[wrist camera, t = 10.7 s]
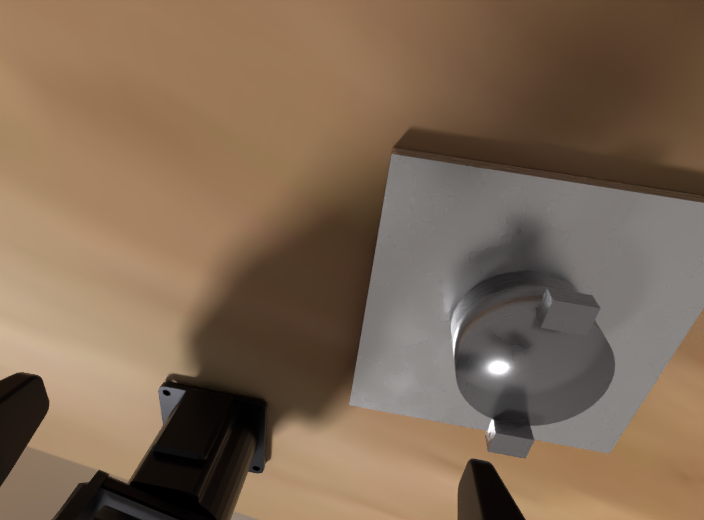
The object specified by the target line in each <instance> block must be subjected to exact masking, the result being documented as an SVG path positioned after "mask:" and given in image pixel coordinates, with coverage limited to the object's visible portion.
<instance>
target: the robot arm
mask: <svg viewBox="0 0 704 520" xmlns="http://www.w3.org/2000/svg"><path fill="white" fill-rule="evenodd" d="M158 392H159V399H160V406H161V413H162V420H163V426H162V428H161V430H160V431H159V433H158V435H157V436H156V438H155V439H154V441H153V443H152V444H151V446H150V448H149V449H148V451H147V452H146V454H145V456H144V457H143V459H142V461H141V462H140V464H139V465H138V467H137V469H136V470H135V472H134V474H133V475H132V477H131V478H130V480H129V482H128V483H124V482H122V481H120V480H117V479H115V478H112V477H110V476H109V474H108V473H106V472H104V471H101V470H98V472H97V473H96V474H95V475H94V477H93V478H92V479H91V481H90V482H88V483H79V484H78V485H77V487H76V488H75V490H74V491H73V492H72V494H71V495H70V497H69V498H68V499H67V501H66V502H65V504H64V505H63V506H62V508H61V509H60V511H59V512H58V513H57V514H56V515H55V516H54V518H53V519H52V520H230V519H231V517H232V514H233V511H234V509H235V506H236V503H237V500H238V498H239V495H240V492H241V490H242V487H243V484H244V481H245V479H246V476H247V473H248V472H253V473H262V472H263V470H264V467H265V464H266V436H267V407H268V406H267V403H266V402H265V401H263V400H261V399H258V398H252V397H247V396H242V395H236V394H231V393H226V392H220V391H215V390H210V389H204V388H199V387H194V386H188V385H183V384H178V383H172V382H164V383H163V384H162V385H161V387H160V388H159V391H158ZM48 409H49V399H48V396H47V392H46V389H45V386H44V383H43V380H42V378H41V377H40V376H38V375H35V374H29V373H24V372H20V373H16V374H13V375H11V376H9V377H7V378H4V379H2V380H0V486H1V485H2V484H3V482H4V480H5V479H6V477H7V476H8V475H9V473H10V471H11V470H12V468H13V467H14V465H15V463H16V462H17V460H18V459H19V457H20V455H21V454H22V452H23V451H24V449H25V447H26V446H27V444H28V443H29V441H30V439H31V438H32V436H33V435H34V433H35V431H36V430H37V428H38V427H39V425H40V423H41V422H42V420H43V419H44V417H45V415H46V414H47V411H48ZM458 520H525V518H524V516H523V515H522V513H521V511H520V510H519V508H518V506H517V505H516V503H515V501H514V500H513V498H512V496H511V495H510V493H509V491H508V490H507V488H506V486H505V485H504V483H503V481H502V480H501V478H500V476H499V475H498V473H497V471H496V470H495V468H494V467H493V465H492V464H491V463H490V462H488V461H483V460H478V459H470V460H469V461H468V463H467V465H466V468H465V470H464V472H463V475H462V477H461V480H460V482H459V487H458Z"/></svg>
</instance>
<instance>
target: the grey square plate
mask: <svg viewBox="0 0 704 520" xmlns="http://www.w3.org/2000/svg"><path fill="white" fill-rule="evenodd" d="M703 308H704V196H703V195H696V194H690V193H683V192H677V191H671V190H664V189H658V188H651V187H645V186H639V185H632V184H626V183H619V182H613V181H607V180H600V179H594V178H587V177H581V176H574V175H568V174H562V173H555V172H549V171H542V170H536V169H530V168H523V167H517V166H510V165H504V164H498V163H491V162H485V161H478V160H472V159H466V158H459V157H453V156H446V155H440V154H434V153H427V152H421V151H414V150H408V149H401V148H395V147H393V149H392V155H391V161H390V167H389V173H388V179H387V184H386V190H385V196H384V202H383V208H382V214H381V220H380V226H379V232H378V238H377V244H376V249H375V255H374V261H373V267H372V273H371V279H370V285H369V291H368V297H367V303H366V309H365V314H364V320H363V326H362V332H361V338H360V344H359V350H358V356H357V362H356V368H355V374H354V379H353V385H352V391H351V397H350V403H349V405H351V406H357V407H362V408H367V409H373V410H378V411H383V412H389V413H394V414H399V415H405V416H410V417H416V418H421V419H426V420H432V421H437V422H442V423H448V424H453V425H459V426H464V427H469V428H475V429H480V430H485V431H487V433H486V435H485V437H486V444H487V450H488V452H493V453H499V454H504V455H509V456H514V457H520V458H526V456H527V454H528V452H529V450H530V448H531V446H532V444H533V442H534V440H539V441H544V442H550V443H555V444H560V445H566V446H571V447H577V448H582V449H587V450H593V451H598V452H603V453H610V452H611V450H612V449H613V447H614V446H615V444H616V442H617V441H618V439H619V438H620V436H621V435H622V433H623V432H624V430H625V429H626V427H627V425H628V424H629V422H630V421H631V419H632V418H633V416H634V415H635V413H636V412H637V410H638V408H639V407H640V405H641V404H642V402H643V401H644V399H645V398H646V396H647V395H648V393H649V392H650V390H651V388H652V387H653V385H654V384H655V382H656V381H657V379H658V378H659V376H660V375H661V373H662V371H663V370H664V368H665V367H666V365H667V364H668V362H669V361H670V359H671V358H672V356H673V354H674V353H675V351H676V350H677V348H678V347H679V345H680V344H681V342H682V341H683V339H684V337H685V336H686V334H687V333H688V331H689V330H690V328H691V327H692V325H693V324H694V322H695V321H696V319H697V317H698V316H699V314H700V313H701V311H702V310H703Z"/></svg>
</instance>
